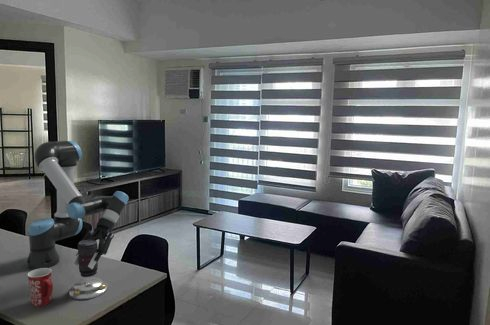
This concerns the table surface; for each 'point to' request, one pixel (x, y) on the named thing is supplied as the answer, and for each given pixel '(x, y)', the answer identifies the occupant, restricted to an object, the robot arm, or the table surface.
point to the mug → (40, 286)
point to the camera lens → (87, 257)
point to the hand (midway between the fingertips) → (82, 265)
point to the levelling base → (87, 293)
